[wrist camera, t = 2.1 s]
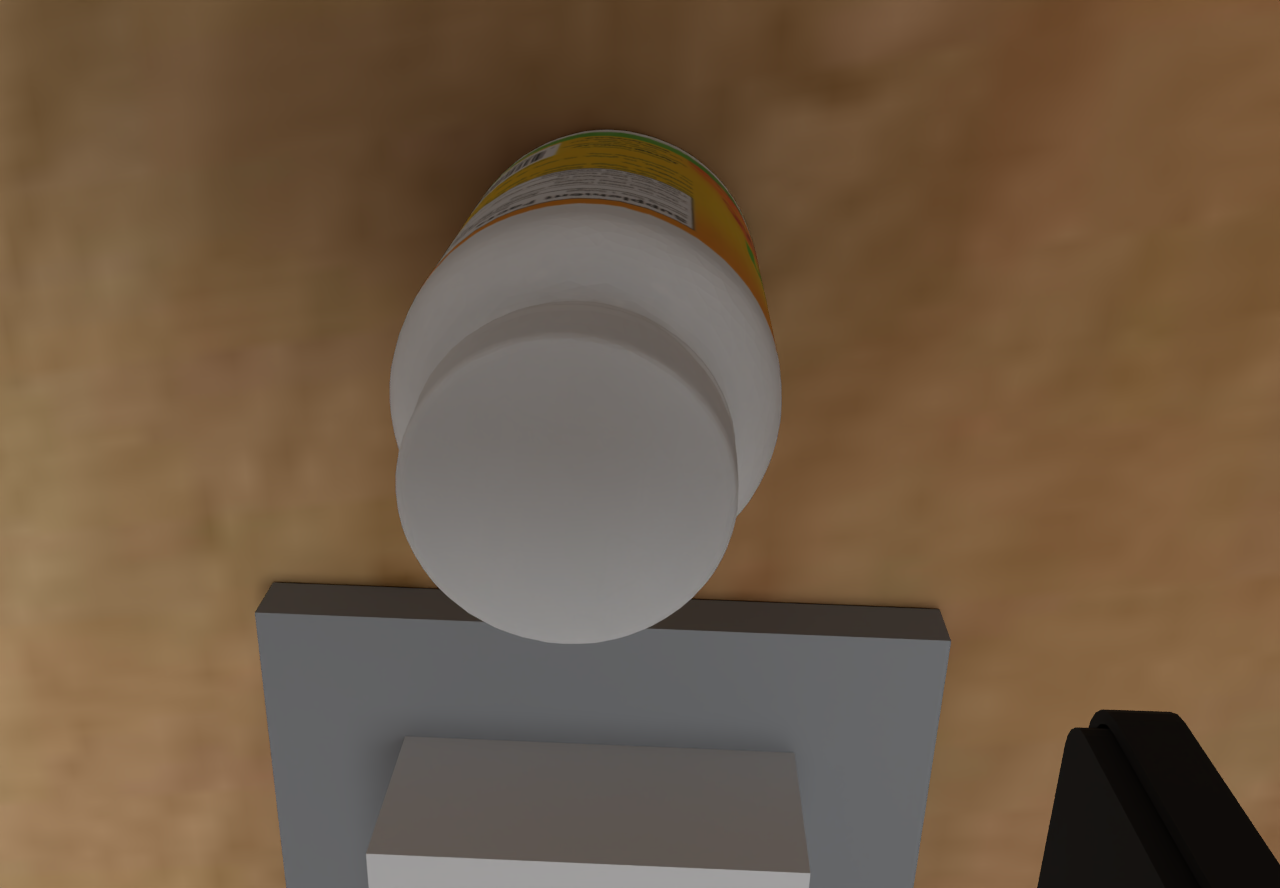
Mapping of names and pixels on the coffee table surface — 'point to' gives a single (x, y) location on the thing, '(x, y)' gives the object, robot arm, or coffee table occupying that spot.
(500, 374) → the supplement bottle
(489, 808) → the bottle holder
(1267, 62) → the coffee table surface
